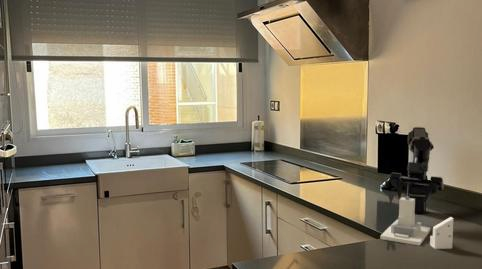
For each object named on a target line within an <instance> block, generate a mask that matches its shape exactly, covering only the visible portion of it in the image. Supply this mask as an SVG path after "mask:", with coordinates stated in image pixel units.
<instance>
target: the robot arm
mask: <svg viewBox="0 0 482 269" xmlns="http://www.w3.org/2000/svg"><path fill="white" fill-rule="evenodd" d="M407 145H408V146H409V151H410V152H411V153H412V161H408V163H407V169H406V171H407V176H408V177H407V176H406V177H405V176H403V175H402V173H400V172H391V173H390V174H389V177H388V178H389V182H390V184H391V186H393V187H394V188H395V189H396V190H397V197H398V200H399V199H401V198H402V193H403V183H407V192H406V194H407V195H406V196H409V198H412V199H415V214H416V215H420V214H422V215H423V214H427V213H430V211H429V210H427V202H429V200H430V199H431V198H432V197H433V196H434V195H435V194H437V193H439V192H444V185H445V184H444V180H443V177H442V176H433V175H432V176H430V178H429V179H428V175H427V173H428V171H429V162H430V154H431V151H432V150H434V147H435V146H434V144H433V143H432V141H431V140H430V138H429V133H428V132H427V130H426V128H425V127H421V126H417V127H416V126H415V127H412V130H411V131H409V132H408V133H407Z"/></svg>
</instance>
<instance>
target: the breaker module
mask: <svg viewBox="0 0 482 269" xmlns="http://www.w3.org/2000/svg"><path fill="white" fill-rule="evenodd" d="M398 200H399V201H398V203H399V205H398V206H399V207H398V218H397V219H398V226H401V227H408V228H413V227H414V226H415V225H416V215H415V199H412V198H409V196H407V195H406V196H405V197H403V196H401V198H400V199H399V198H398Z"/></svg>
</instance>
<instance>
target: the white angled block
mask: <svg viewBox="0 0 482 269" xmlns="http://www.w3.org/2000/svg"><path fill="white" fill-rule="evenodd" d="M453 233H454V218H453V217H452V216H449V217H448V218H446V219H445V220H443V221H441V222H440V223H438V224H436V225H434V226H433V228H432V235H430V236H429V239H430V240H429V246H431V247H432V248H433V249H435V250H441V249H443V250H444V249H445V250H446V249H453V236H454V235H453Z"/></svg>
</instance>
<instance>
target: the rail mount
mask: <svg viewBox="0 0 482 269" xmlns="http://www.w3.org/2000/svg"><path fill="white" fill-rule="evenodd" d="M430 232H431V227H427V226H422V222H415V226H414V227H413V228H408V227H401V226H398V218H397V219H396V220H394V221H393V223H392V224H391V225H389V226H388V227H387V228H386V229H385V230H384V231H383V233H381V235H380V238H379V239H380V240H383V241H384V240H385V241H389V242H397V243H401V244H402V243H403V244H409V245H413V246H418V247H419V246H421V245H422V243H423V241H424V240H425V239H426V238H427V236H428V235H429V233H430Z"/></svg>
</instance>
